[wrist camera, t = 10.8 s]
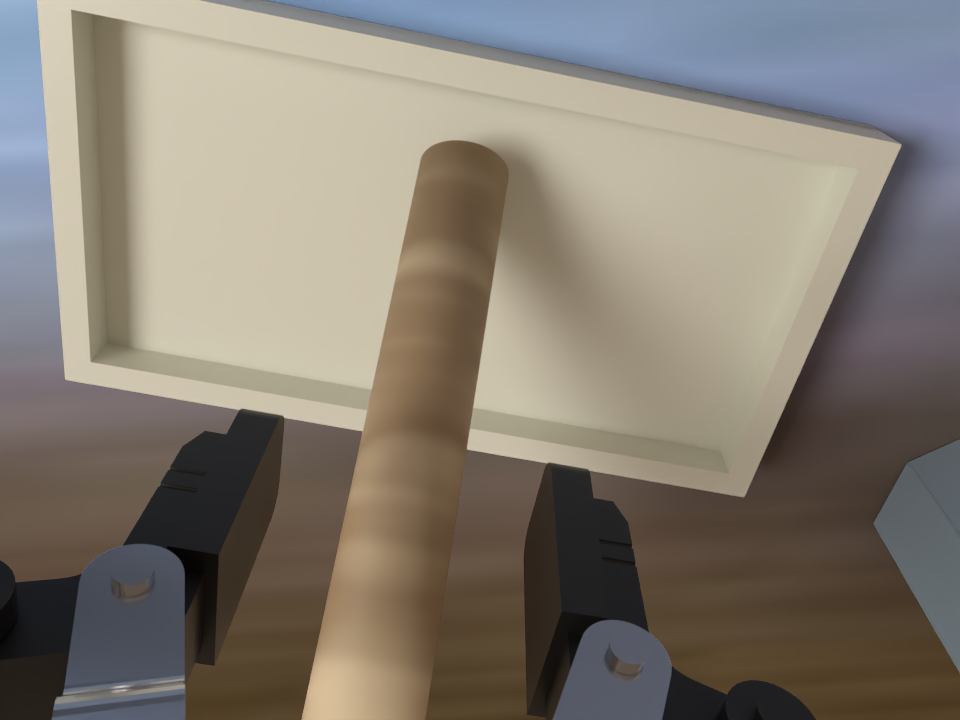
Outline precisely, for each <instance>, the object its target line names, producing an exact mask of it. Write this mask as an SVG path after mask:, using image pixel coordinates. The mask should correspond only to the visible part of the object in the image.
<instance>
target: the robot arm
mask: <svg viewBox="0 0 960 720" xmlns="http://www.w3.org/2000/svg"><path fill="white" fill-rule="evenodd" d="M283 432H284V417H283V415H277V414H271V413H266V412H260V411H254V410H248V409H240V411H239V412H238V414H237V416H236V418H235V419H234V421H233V423H232V425H231V427H230V429H229V431H228V433H227V435H225V434H220V433H214V432H208V431H204V432H203V433H202V434H200V435H199V436H197V437H196V438H194V439H193V440H191V441H190V442H188V443H187V444H185V445H184V446H183V447H182V448H181V450H180V452H179V453H178V455H177V457H176V458H175V460H174V462H173V463H172V465H171V468H170V470H168V472H167V473H166V475H165V477H164V478H163V480H162V482H161V485H160V487H158V488H157V490H156V492H155V493H154V495H153V497H152V498H151V500H150V502H149V503H148V505H147V507H146V508H145V510H144V512H143V513H142V515H141V517H140V518H139V520H138V521H137V523H136V525H135V526H134V528H133V530H132V531H131V533H130V535H129V536H128V538H127V540H126V541H125V543H124V545H123V546H120V547H117V548H114V549H111V550H109V551H107V552H105V553H103V554H101V555H99V556H98V557H96V558H95V559H94V560H93V561H92V562H90V563H89V564H88V566H87V567H86V568H85V569H84V571H83V573H82V574H80V575H77V576H72V577H68V578H61V579H51V580H40V581H28V582H17V583H15V577H14V574H13V572H12V570H11V569H10V568H9V566H7V565H6V564H5V563H4V562H2V561H0V720H185V686H186V684H187V681H188V679H189V677H190V674H191V672H192V669H193V667H194V664H195V663H200V664H206V665H213V666H214V665H215V663H216V660H217V658H218V655H219V652H220V650H221V647H222V645H223V642H224V640H225V637H226V634H227V632H228V629H229V627H230V624H231V621H232V619H233V616H234V614H235V611H236V609H237V606H238V603H239V601H240V598H241V596H242V593H243V590H244V588H245V585H246V583H247V580H248V577H249V575H250V572H251V570H252V567H253V565H254V562H255V559H256V557H257V554H258V552H259V549H260V546H261V544H262V541H263V539H264V536H265V534H266V531H267V528H268V526H269V523H270V521H271V518H272V515H273V511H274V508H275V504H276V499H277V494H278V488H279V479H280V467H281V455H282V443H283ZM524 596H525V642H526V689H527V715H533V716H539V717H546V720H816V719H815V717H814V716H813V715H812V713H811V712H810V710H809V709H808V708H807V707H806V706H805V705H804V704H803V703H802V702H801V701H800V700H799V699H797V698H796V697H795V696H794V695H792V694H791V693H789V692H788V691H786V690H784V689H782V688H781V687H778V686H776V685H774V684H771V683H767V682H763V681H757V680H749V681H743V682H741V683H738V684H736V685H735V686H734V687H732V689H731V690H730V691H729V692H728V694H727V695H726V694H724V693H722V692H719V691H717V690H715V689H713V688H710V687H708V686H706V685H703V684H701V683H699V682H697V681H694V680H692V679H690V678H688V677H686V676H685V675H683V674H682V673H680V672H679V671H677V670H676V669H675V668H673V667H672V666H671V662H670V659H669V656H668V654H667V652H666V650H665V649H664V647H663V646H662V645H661V643H660V642H659V641H658V640H657V639H656V638H655V637H654V636H652V635H651V634H650V633H649V631H648V625H647V620H646V615H645V610H644V604H643V599H642V594H641V589H640V583H639V578H638V573H637V568H636V567H635V557H634V552H633V549H632V541H631V536H630V531H629V526H628V522H627V521H626V519H625V518H624V516H623V515H622V514H621V512H620V511H619V509H618V508H617V507H616V505H615V504H614V502H613V501H607V500H601V499H595V498H593V492H592V485H591V478H590V472H589V470H588V469H584V468H579V467H573V466H567V465H561V464H556V463H550V462H549V463H548V464H547V465H546V468H545V470H544V474H543V477H542V481H541V484H540V488H539V491H538V495H537V498H536V502H535V505H534V509H533V512H532V516H531V519H530V523H529V526H528V531H527V535H526V541H525V549H524Z"/></svg>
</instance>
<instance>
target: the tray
mask: <svg viewBox="0 0 960 720" xmlns="http://www.w3.org/2000/svg"><path fill="white" fill-rule="evenodd" d="M37 6H38V20H39V33H40V47H41V60H42V74H43V87H44V101H45V114H46V128H47V141H48V155H49V168H50V182H51V195H52V209H53V222H54V235H55V249H56V262H57V276H58V289H59V303H60V316H61V330H62V343H63V357H64V370H65V380H70V381H76V382H81V383H87V384H93V385H99V386H104V387H110V388H116V389H122V390H128V391H133V392H139V393H145V394H151V395H156V396H162V397H168V398H174V399H179V400H185V401H191V402H197V403H203V404H208V405H214V406H220V407H226V408H231V409H237V410H240V409H248V410H254V411H260V412H266V413H271V414H277V415H283V417H284V418H289V419H295V420H301V421H306V422H312V423H318V424H324V425H329V426H335V427H341V428H347V429H352V430H358V431H363V428H364V424H365V419H366V414H367V410H368V405H369V400H370V395H371V391H372V386H373V381H374V377H375V372H376V367H377V363H378V358H379V353H380V348H381V344H382V339H383V334H384V330H385V325H386V320H387V315H388V311H389V306H390V301H391V297H392V292H393V287H394V283H395V278H396V273H397V268H398V264H399V259H400V254H401V250H402V245H403V240H404V235H405V231H406V226H407V221H408V217H409V212H410V207H411V203H412V198H413V193H414V188H415V184H416V179H417V174H418V170H419V165H420V160H421V157H422V155H423V153H424V152H425V151H426V150H427V149H428V148H429V147H431V146H433V145H435V144H437V143H440V142H444V141H450V140H462V141H469V142H473V143H477V144H480V145H483V146H485V147H487V148H489V149H491V150H492V151H494V152H495V153H497V154H498V155H499V156H500V157H501V158H502V159H503V160H504V162H505V164H506V165H507V168H508V171H509V178H508V184H507V191H506V197H505V204H504V210H503V217H502V223H501V230H500V236H499V243H498V249H497V256H496V262H495V269H494V275H493V282H492V288H491V295H490V301H489V308H488V314H487V321H486V327H485V334H484V340H483V347H482V353H481V360H480V366H479V373H478V379H477V386H476V392H475V399H474V405H473V412H472V418H471V425H470V431H469V438H468V444H467V449H468V450H474V451H479V452H485V453H491V454H497V455H502V456H508V457H514V458H520V459H526V460H531V461H537V462H543V463H549V462H550V463H556V464H561V465H567V466H573V467H579V468H584V469H588V470H589V471H595V472H601V473H606V474H612V475H618V476H624V477H629V478H635V479H641V480H647V481H652V482H658V483H664V484H670V485H675V486H681V487H687V488H693V489H699V490H704V491H710V492H716V493H722V494H727V495H733V496H739V497H745V495H746V492H747V490H748V488H749V486H750V483H751V481H752V479H753V477H754V474H755V472H756V470H757V468H758V466H759V463H760V461H761V459H762V457H763V454H764V452H765V450H766V448H767V445H768V443H769V441H770V439H771V436H772V434H773V432H774V430H775V427H776V425H777V423H778V421H779V418H780V416H781V414H782V412H783V410H784V407H785V405H786V403H787V401H788V398H789V396H790V394H791V392H792V389H793V387H794V385H795V383H796V380H797V378H798V376H799V374H800V371H801V369H802V367H803V365H804V363H805V360H806V358H807V356H808V354H809V351H810V349H811V347H812V345H813V342H814V340H815V338H816V336H817V333H818V331H819V329H820V327H821V324H822V322H823V320H824V318H825V316H826V313H827V311H828V309H829V307H830V304H831V302H832V300H833V298H834V295H835V293H836V291H837V289H838V286H839V284H840V282H841V280H842V277H843V275H844V273H845V271H846V268H847V266H848V264H849V262H850V260H851V257H852V255H853V253H854V251H855V248H856V246H857V244H858V242H859V239H860V237H861V235H862V233H863V230H864V228H865V226H866V224H867V221H868V219H869V217H870V215H871V213H872V210H873V208H874V206H875V204H876V201H877V199H878V197H879V195H880V192H881V190H882V188H883V186H884V183H885V181H886V179H887V177H888V174H889V172H890V170H891V168H892V166H893V163H894V161H895V159H896V157H897V154H898V152H899V150H900V148H901V145H902V144H901V143H899V142H897V141H896V140H894V139H892V138H891V137H889V136H888V135H886V134H884V133H883V132H881V131H879V130H878V129H876V128H875V127H873V126H871V125H867V124H862V123H857V122H852V121H847V120H842V119H837V118H833V117H828V116H823V115H818V114H813V113H808V112H803V111H799V110H794V109H789V108H784V107H779V106H774V105H769V104H765V103H760V102H755V101H750V100H745V99H740V98H736V97H731V96H726V95H721V94H716V93H711V92H706V91H702V90H697V89H692V88H687V87H682V86H677V85H672V84H668V83H663V82H658V81H653V80H648V79H643V78H638V77H634V76H629V75H624V74H619V73H614V72H609V71H604V70H600V69H595V68H590V67H585V66H580V65H575V64H571V63H566V62H561V61H556V60H551V59H546V58H541V57H537V56H532V55H527V54H522V53H517V52H512V51H507V50H503V49H498V48H493V47H488V46H483V45H478V44H473V43H469V42H464V41H459V40H454V39H449V38H444V37H439V36H435V35H430V34H425V33H420V32H415V31H410V30H406V29H401V28H396V27H391V26H386V25H381V24H376V23H372V22H367V21H362V20H357V19H352V18H347V17H342V16H338V15H333V14H328V13H323V12H318V11H313V10H308V9H304V8H299V7H294V6H289V5H284V4H279V3H275V2H270V1H265V0H37Z"/></svg>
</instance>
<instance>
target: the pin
mask: <svg viewBox="0 0 960 720" xmlns="http://www.w3.org/2000/svg"><path fill="white" fill-rule="evenodd" d="M508 178H509V171H508V168H507V165H506V164H505V162H504V160H503V159H502V158H501V157H500V156H499V155H498V154H497V153H495V152H494V151H492V150H491V149H489V148H487V147H485V146H483V145H480V144H477V143H473V142H469V141H462V140H450V141H444V142H440V143H437V144H435V145H433V146H431V147H429V148H428V149H427V150H426V151H425V152H424V153H423V155H422V157H421V160H420V165H419V170H418V174H417V179H416V184H415V188H414V193H413V198H412V203H411V207H410V212H409V217H408V221H407V226H406V231H405V235H404V240H403V245H402V250H401V254H400V259H399V264H398V268H397V273H396V278H395V283H394V287H393V292H392V297H391V301H390V306H389V311H388V315H387V320H386V325H385V330H384V334H383V339H382V344H381V348H380V353H379V358H378V363H377V367H376V372H375V377H374V381H373V386H372V391H371V395H370V400H369V405H368V410H367V414H366V419H365V424H364V428H363V433H362V438H361V442H360V447H359V452H358V457H357V461H356V466H355V471H354V475H353V480H352V485H351V490H350V494H349V499H348V504H347V508H346V513H345V518H344V522H343V527H342V532H341V537H340V541H339V546H338V551H337V555H336V560H335V565H334V570H333V574H332V579H331V584H330V588H329V593H328V598H327V602H326V607H325V612H324V617H323V621H322V626H321V631H320V635H319V640H318V645H317V649H316V654H315V659H314V664H313V668H312V673H311V678H310V682H309V687H308V692H307V697H306V701H305V706H304V711H303V715H302V720H425V717H426V711H427V704H428V698H429V691H430V685H431V678H432V672H433V665H434V659H435V652H436V646H437V639H438V633H439V626H440V620H441V613H442V607H443V600H444V594H445V587H446V581H447V574H448V568H449V561H450V555H451V548H452V542H453V535H454V529H455V522H456V516H457V509H458V503H459V496H460V490H461V483H462V477H463V470H464V464H465V457H466V451H467V444H468V438H469V431H470V425H471V418H472V412H473V405H474V399H475V392H476V386H477V379H478V373H479V366H480V360H481V353H482V347H483V340H484V334H485V327H486V321H487V314H488V308H489V301H490V295H491V288H492V282H493V275H494V269H495V262H496V256H497V249H498V243H499V236H500V230H501V223H502V217H503V210H504V204H505V197H506V191H507V184H508Z"/></svg>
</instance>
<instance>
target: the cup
mask: <svg viewBox="0 0 960 720" xmlns="http://www.w3.org/2000/svg"><path fill="white" fill-rule="evenodd" d="M873 524H874V526H875V528H876V530H877V531H878V533H879V535H880V536H881V538H882V540H883V542H884V543H885V545H886V547H887V548H888V550H889V552H890V554H891V555H892V557H893V559H894V560H895V562H896V564H897V565H898V567H899V569H900V571H901V573H902V575H903V576H904V578H905V580H906V582H907V583H908V585H909V587H910V588H911V590H912V592H913V594H914V595H915V597H916V599H917V600H918V602H919V604H920V606H921V607H922V609H923V611H924V612H925V614H926V616H927V618H928V619H929V621H930V623H931V624H932V626H933V628H934V630H935V631H936V633H937V635H938V636H939V638H940V640H941V642H942V643H943V645H944V647H945V648H946V650H947V652H948V654H949V655H950V657H951V659H952V660H953V662H954V664H955V666H956V667H957V669H958V671H959V672H960V439H959V440H956V441H954V442H952V443H950V444H948V445H945V446H943V447H941V448H939V449H936V450H934V451H932V452H930V453H927V454H925V455H923V456H921V457H918V458H916V459H914V460H912V461H910V462H907V463H906V466H905V467H904V469H903V471H902V473H901V475H900V476H899V478H898V480H897V482H896V483H895V485H894V487H893V489H892V491H891V492H890V494H889V496H888V498H887V500H886V501H885V503H884V505H883V507H882V509H881V510H880V512H879V514H878V516H877V518H876V519H875V521H874V522H873Z"/></svg>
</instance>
